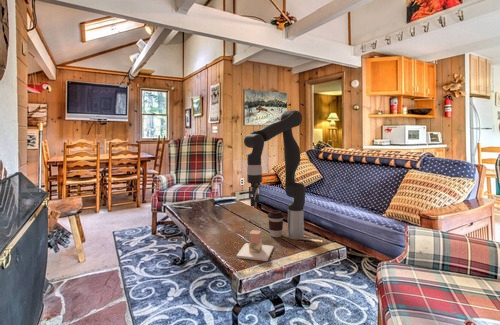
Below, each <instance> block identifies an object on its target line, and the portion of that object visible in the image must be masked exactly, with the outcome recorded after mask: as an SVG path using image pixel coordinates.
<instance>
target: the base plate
mask: <svg viewBox="0 0 500 325" xmlns="http://www.w3.org/2000/svg"><path fill="white" fill-rule="evenodd" d="M273 250H274V246H273V245H266V244H262V250H261V251H260V253H252V252H249V243H248V242H247V243H245V242H244V245H243V246H242V247H241V249H240V250H239V251H238V253H237V254H236V258H237V259H245V260H246V259H247V260H253V261H263V262H268V261H269V260H270V257H271V254H272V252H273Z"/></svg>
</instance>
